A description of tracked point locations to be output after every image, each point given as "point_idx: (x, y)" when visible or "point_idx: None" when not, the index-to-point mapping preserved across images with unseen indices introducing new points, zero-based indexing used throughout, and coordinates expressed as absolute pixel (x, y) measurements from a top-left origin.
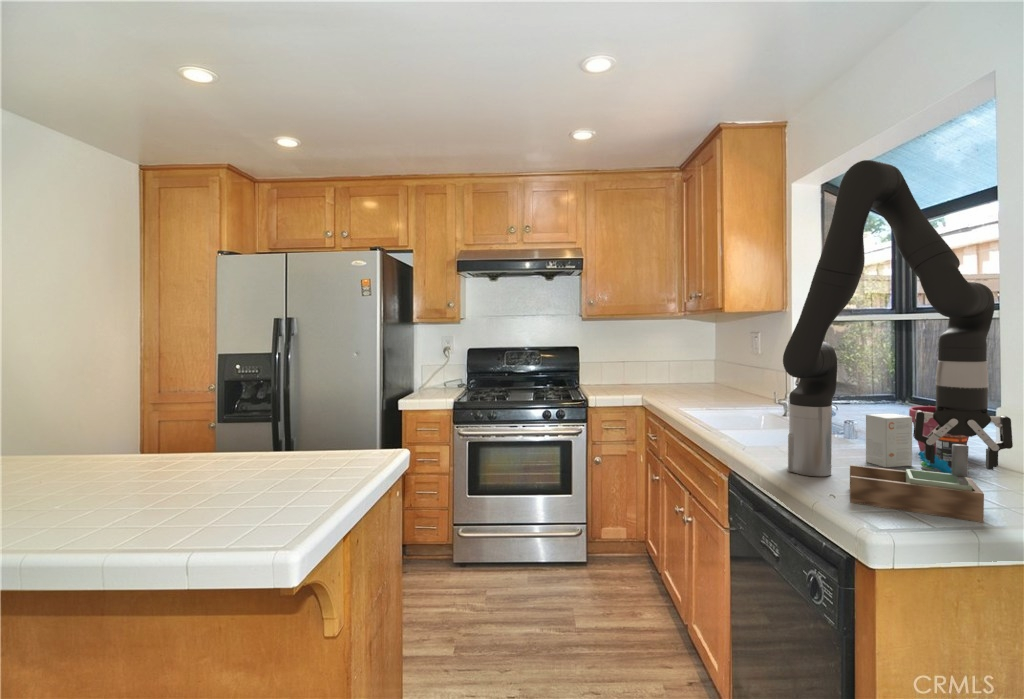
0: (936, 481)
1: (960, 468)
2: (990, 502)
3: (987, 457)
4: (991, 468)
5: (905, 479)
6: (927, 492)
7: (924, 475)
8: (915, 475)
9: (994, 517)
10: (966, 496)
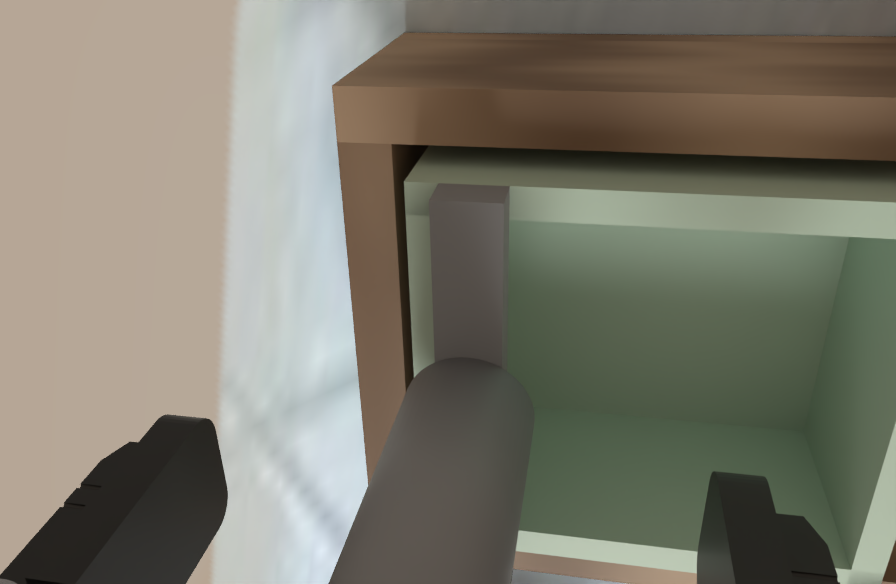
0: (718, 210)
1: (455, 413)
2: (320, 498)
3: (152, 552)
4: (175, 416)
5: None
6: (810, 82)
7: None
8: None
9: (328, 204)
10: (477, 77)
